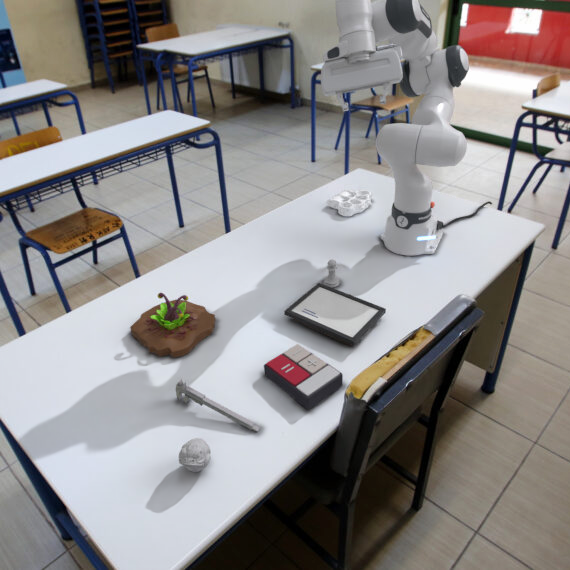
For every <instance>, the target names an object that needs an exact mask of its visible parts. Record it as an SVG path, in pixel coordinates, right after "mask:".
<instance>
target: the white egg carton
mask: <svg viewBox="0 0 570 570" xmlns="http://www.w3.org/2000/svg"><path fill="white" fill-rule="evenodd" d="M326 205H327V206H328V207H329V208H332V209H334V210H336V211H337V210H338V211H337V213H338V215H340V216H341V217H353V216H354V215H356V214H360V213H363V212H364V210H366V209H368V208H369V206H370V205H373V202H372V192H371V191H369V190H366V189H359V190H350V189H344V190H341V192H339V193H338V194H337V195H336V194H335V195H334V196H333V197H332V198H330V199H328V200H327V201H326Z"/></svg>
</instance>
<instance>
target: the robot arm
mask: <svg viewBox="0 0 570 570" xmlns="http://www.w3.org/2000/svg"><path fill="white" fill-rule="evenodd" d="M335 16H336V17H335V18H336V25H337V27H338V31H339V36H338V43H337V44H336V45H334V46H332V47H331V48H329V49H327V50H325V51H324V52H323V53H322V59H323V60H322V61H323V65H322V66H321V69H320V90H321V93H322V94H323V95H324V96H325V97H331V96H335V97H336V98H337V100H338V102H339V103H340V104H341V110H342V112H348V111H350V109H349V103H348V101H345V102H344V100H343V99H342V98H343V94H347V93H352V92H358V91H363V90H367V89H373V88H378V87H383V88H382V89H383V90H384V91H383V93H382V95H379V104H380V106H381V105H387V98H386V97H387V95H388V93H389V90H390V85H394V84H399V87H400V90H401V92H402V93H403V95H405V96H406V97H407V98H417V97H420V96H421V95H424V96H423V97H422V98H421V100H420V102H419V103H418V105H417V107H416V109H415V112H414V113H413V115H412V118H411V123H404V122H397V123H388V124H387V123H386V124H384V125H383V126H382V127H381V128H380V129H379V131H378V132H377V135H376V136H375V149H376V152H377V154H378V155H379V157H380V158H381V159H383V160H384V162H386V164H387V165H388V167H389V168H390V170H391V172H392V175H393V179H394V201H393V202H392V205H391V211H390V213H391V214H390V215H388V216H387V218H386V223H385V228H384V232H382V233H381V234H380V240H381V241H383V243H384V247H385V248H386V249H387V250H389V251H390V252H392V253H394V254H397V255H401V256H407V257H408V256H411V257H412V256H413V257H414V256H420V255H433V254H435V252H436V249H437V248H438V245H439V244H440V242H441V240H442V237H443V234H444V231H442V230H441V229H442V228H446V227H448V226H450V225H451V224H453V223H454V222H457V221H459V220H464V219H468V218H472V217H473V216H475V215H476V214H478V212H479V211H480V210H481V209H482V208H484V207H485V206H486V205H488V204H489V205H493V202H492V201H486V202H484V203H483V204H481V205H480V206H478V207H477V208H476V209H475V211H474V212H473V213H471V214H469V215H464V216H459V217H455V218H454V219H452V220H450V221H449V222H447V223H446V224H444V222H443V221H440V220H438V219H437V217H435V216H434V215H433V214H432V211H433V209H434V207H435V204H436V203H435V201H432V196H433V190H434V183H433V181H432V179H431V178H430V177H429V176H428V175H427V174H426V173H424V172H422V171H421V170H420V169H419V167H418V165H420V166H429V167H435V168H443V167H444V168H446V167H455V166H457V165H458V164H459V163H460V162H461V161H462V160H463V159H464V157H465V155H466V152H467V149H468V148H467V147H468V146H467V145H468V144H467V143H468V142H467V139H466V137H465V134H464V133H463V131H460V130H458V129H456V128H454V127H453V126H452V125H451V124H450V123H451V120H452V118H453V114H454V110H455V96H454V93H453V90H454V88H460V87H461V86H462V81H463V80H465V79H466V76H467V74H468V73H469V69H470V62H469V57H468V53H467V52H466V50H465V49H464V48H463V46H461V45H459V44H455V45H449V46H447V47H446V48H443V49H440V50H436V49H437V46H438V45H437V44H438V38H437V35H436V33H435V31H434V30H433V25H432V20H431V16H430V14H428V12H427V11H426V9H425V8H424V7H423V6H422V4H421V3H420V0H375V1H371V0H335ZM385 41H388V44H381V45H378V44H380V43H382V42H385ZM435 50H436V51H435ZM401 60H403V62H401Z"/></svg>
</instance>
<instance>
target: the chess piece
mask: <svg viewBox="0 0 570 570" xmlns="http://www.w3.org/2000/svg"><path fill="white" fill-rule="evenodd" d="M326 269H327V270H328V273H327V275H326V276H325V277H324V278H323V283H322V284H324V285H326V286H329V287H331V288H336V287H338V286H339V285H340V279H339V277H338V276H336V270H337V269H338V266H337V261H336V260H335V259H329V260H328V261H327V267H326Z"/></svg>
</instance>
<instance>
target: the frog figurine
mask: <svg viewBox="0 0 570 570" xmlns="http://www.w3.org/2000/svg"><path fill="white" fill-rule="evenodd" d="M211 453H212V450H211V447H210V445H209V444H208V443H207V441H206V440H204V439H203V438H201V437H200V438H199V437H194V438H192V439H190V440H188V441H187V442H186V443H184V444H183V445H182V447H181V449H180V451H179V453H178V463H179V464H180V465H181V466H183V467H184V468H186V469H187V470H188V471H190V472H193V473H199V472H202V471H203V470H204V469H206V468H207V466H208V464H209V463H210V461H211V459H212V456H211Z"/></svg>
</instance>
